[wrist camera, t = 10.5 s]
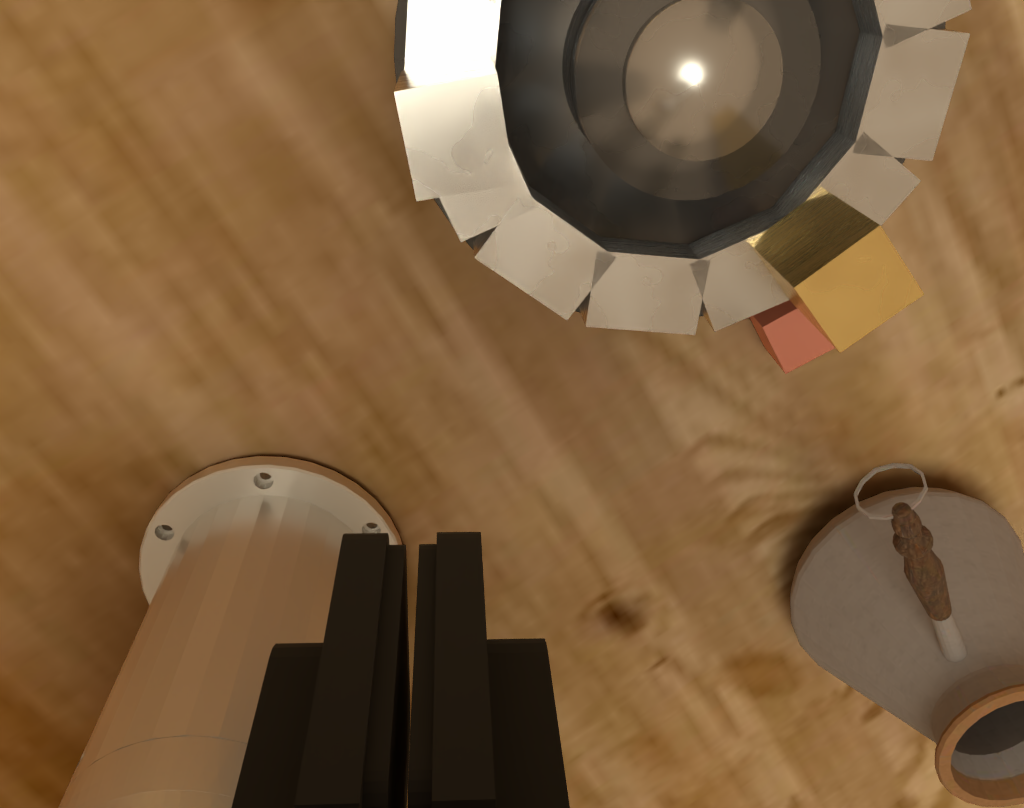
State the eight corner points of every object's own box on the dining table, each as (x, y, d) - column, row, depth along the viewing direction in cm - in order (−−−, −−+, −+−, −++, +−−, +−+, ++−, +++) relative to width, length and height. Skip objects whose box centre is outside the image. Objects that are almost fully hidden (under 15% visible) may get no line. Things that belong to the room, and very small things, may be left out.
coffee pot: (1022, 580, 49) (1237, 819, 36) (824, 677, 51) (957, 935, 38) (872, 253, 41) (1081, 405, 27) (642, 385, 43) (731, 586, 29)
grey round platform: (855, 298, 41) (937, 370, 34) (404, 295, 40) (394, 369, 33) (964, -242, 33) (1104, -292, 26) (390, -269, 31) (373, -330, 24)
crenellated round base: (1012, -217, 30) (1159, -259, 24) (856, 330, 38) (936, 404, 32) (422, -301, 28) (415, -371, 22) (392, 293, 37) (380, 365, 30)
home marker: (814, 319, 42) (839, 345, 39) (764, 346, 42) (785, 373, 40) (793, 273, 41) (817, 297, 38) (742, 302, 41) (762, 327, 39)
